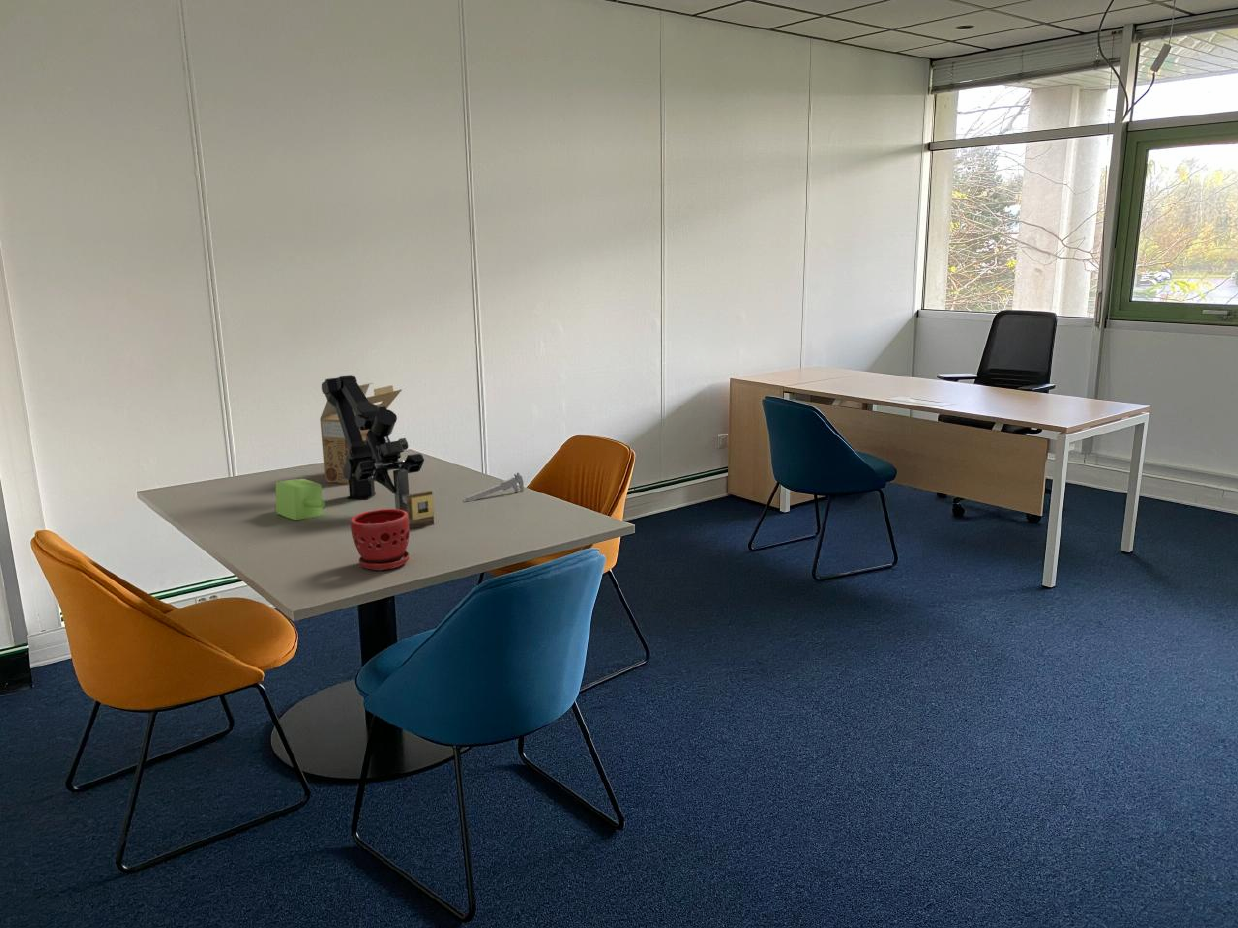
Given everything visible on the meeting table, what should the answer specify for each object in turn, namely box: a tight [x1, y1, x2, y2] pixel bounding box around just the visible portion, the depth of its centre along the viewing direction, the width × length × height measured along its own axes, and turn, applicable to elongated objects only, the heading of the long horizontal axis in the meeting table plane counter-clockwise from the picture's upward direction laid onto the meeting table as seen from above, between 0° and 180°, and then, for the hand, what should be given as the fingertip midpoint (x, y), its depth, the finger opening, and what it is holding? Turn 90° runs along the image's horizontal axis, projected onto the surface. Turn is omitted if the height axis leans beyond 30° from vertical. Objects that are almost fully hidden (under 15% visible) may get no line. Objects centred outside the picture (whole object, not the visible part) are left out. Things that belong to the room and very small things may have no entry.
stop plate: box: [406, 490, 435, 530], centre depth 249 cm, size 4×7×9 cm, turn 127°
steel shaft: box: [392, 469, 426, 512], centre depth 252 cm, size 14×3×13 cm, turn 37°
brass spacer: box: [410, 493, 435, 520], centre depth 247 cm, size 1×6×6 cm, turn 127°
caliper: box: [462, 472, 525, 503], centre depth 279 cm, size 20×1×6 cm, turn 127°
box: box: [319, 382, 403, 485], centre depth 304 cm, size 21×20×30 cm
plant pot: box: [350, 508, 411, 571], centre depth 217 cm, size 13×13×12 cm
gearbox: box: [275, 478, 326, 521], centre depth 261 cm, size 18×10×10 cm, turn 47°
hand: (400, 491), depth 257 cm, fingers closed on steel shaft, 3 cm apart
